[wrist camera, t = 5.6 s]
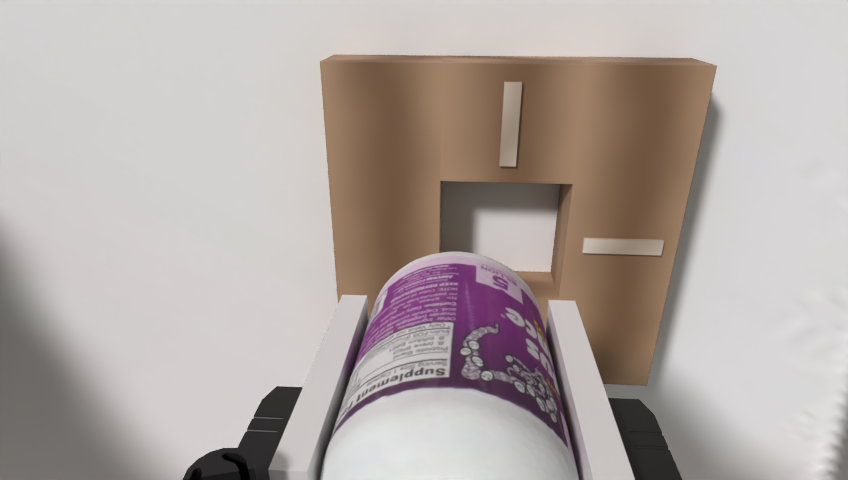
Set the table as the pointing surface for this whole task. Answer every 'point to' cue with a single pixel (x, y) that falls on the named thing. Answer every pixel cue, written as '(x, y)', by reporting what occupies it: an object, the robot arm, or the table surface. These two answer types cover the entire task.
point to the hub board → (523, 173)
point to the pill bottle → (452, 382)
